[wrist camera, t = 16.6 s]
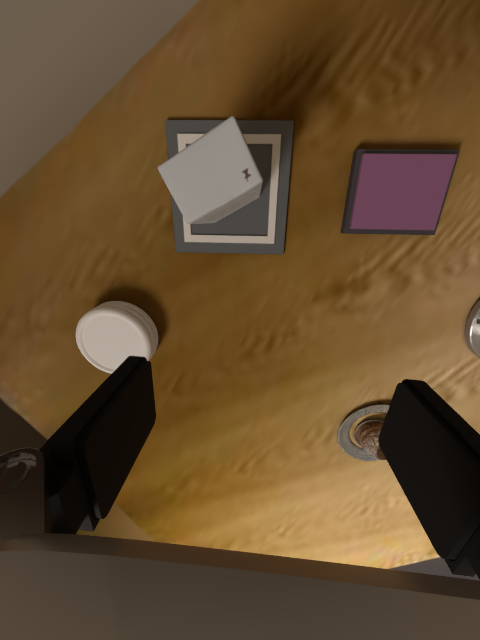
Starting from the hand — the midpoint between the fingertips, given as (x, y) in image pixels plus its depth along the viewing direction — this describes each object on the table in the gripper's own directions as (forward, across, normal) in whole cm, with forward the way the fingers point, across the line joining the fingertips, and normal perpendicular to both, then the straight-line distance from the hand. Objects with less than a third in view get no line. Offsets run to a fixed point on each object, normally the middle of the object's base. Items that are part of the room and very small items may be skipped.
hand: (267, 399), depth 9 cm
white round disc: (+23, +19, +10) cm, 31 cm away
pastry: (+24, -20, +24) cm, 40 cm away
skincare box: (+23, +5, -9) cm, 25 cm away
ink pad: (+24, -14, -10) cm, 29 cm away
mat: (+23, +4, -9) cm, 25 cm away
